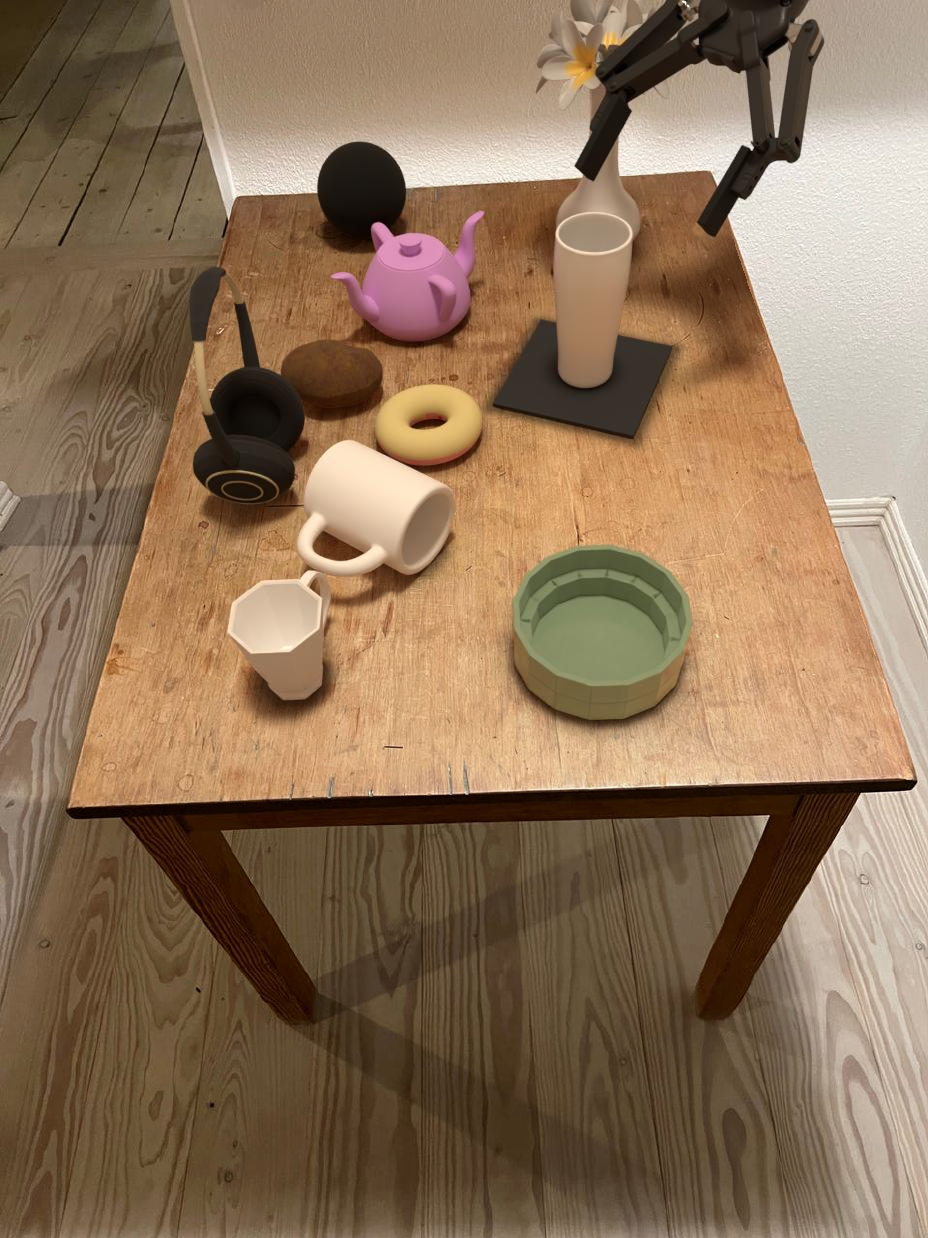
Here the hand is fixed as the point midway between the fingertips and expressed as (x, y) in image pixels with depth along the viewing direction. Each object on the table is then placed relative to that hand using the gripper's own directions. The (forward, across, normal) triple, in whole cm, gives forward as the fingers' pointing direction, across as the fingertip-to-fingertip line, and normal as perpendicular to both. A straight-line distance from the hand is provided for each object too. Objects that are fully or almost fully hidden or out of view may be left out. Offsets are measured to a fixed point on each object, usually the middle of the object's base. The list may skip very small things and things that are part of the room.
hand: (642, 201), depth 81 cm
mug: (+36, -2, +12) cm, 38 cm away
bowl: (+32, -22, +8) cm, 39 cm away
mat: (+15, +1, -8) cm, 17 cm away
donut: (+27, +6, +3) cm, 28 cm away
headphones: (+37, +13, +13) cm, 41 cm away
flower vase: (+3, +16, -21) cm, 26 cm away
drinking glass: (+15, +1, -8) cm, 17 cm away
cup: (+44, -7, +20) cm, 49 cm away
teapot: (+19, +21, -5) cm, 29 cm away
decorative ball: (+14, +37, -10) cm, 41 cm away
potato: (+29, +16, +5) cm, 34 cm away
